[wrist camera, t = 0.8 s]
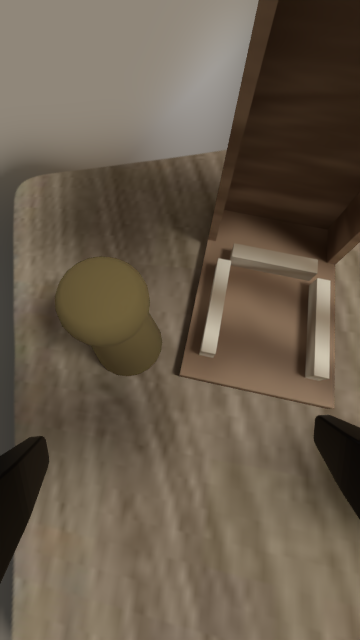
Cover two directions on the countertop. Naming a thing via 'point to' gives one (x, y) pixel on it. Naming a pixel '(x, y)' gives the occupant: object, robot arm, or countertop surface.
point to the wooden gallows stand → (283, 208)
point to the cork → (110, 314)
